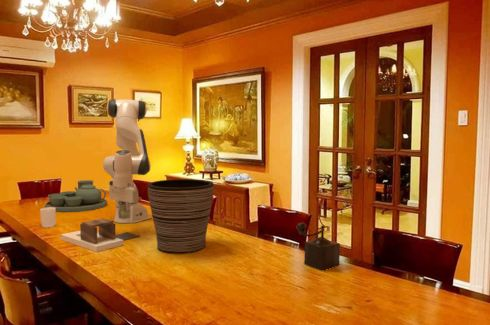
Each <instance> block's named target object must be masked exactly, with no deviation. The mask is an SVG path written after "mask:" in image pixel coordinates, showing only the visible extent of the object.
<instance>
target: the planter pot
mask: <svg viewBox="0 0 490 325" xmlns="http://www.w3.org/2000/svg"><path fill="white" fill-rule="evenodd" d="M214 187H215V183H214V182H213V181H210V180H206V179H204V180H203V179H196V178H195V179H193V178H192V179H190V178H189V179H187V178H186V179H185V178H183V179H179V178H177V179H162V180H161V179H160V180H156V181H152V182H149V183H147V194H148V202H149V206H150V211H151V216H152V220H153V225H154V230H155V237H156V244H157V246H156V247H157V250H158V251H159V252H162V253H165V254H171V255H187V254H192V253H193V254H194V253H197V252H200V251H202V250H204V249H205V248H206V247H207V246H206V245H207V244H206V242H207V240H206V239H207V231H208V225H209V220H210V215H211V210H212V204H213V198H214V191H215V190H214Z"/></svg>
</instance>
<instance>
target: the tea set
mask: <svg viewBox="0 0 490 325" xmlns="http://www.w3.org/2000/svg"><path fill="white" fill-rule="evenodd" d="M74 190H75V191H74ZM74 190H71V191H70V190H69V191H62V192H59V193H51V194H48V195H47V198H48V200H49V201H46V203H44V208H47V207H54V208H56V213H76V212H79V213H80V212H86V211H87V212H88V211H94V210H97V209H98V210H99V209H102V208H104V207H105V206H107V204H108V200H107V199H106V196H107V193H106V191H105V189H103V188H97V187H96V185H94V180H92V179H86V180H85V179H84V180H83V179H82V180H77V186H74ZM102 192H103V193H104V194H103V197H102Z"/></svg>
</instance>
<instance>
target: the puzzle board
mask: <svg viewBox="0 0 490 325" xmlns="http://www.w3.org/2000/svg"><path fill="white" fill-rule="evenodd" d="M60 239H61V241H65V242H67V243H70V244H72V245H76V246H78V247H81V248H83V249H87V250H89V251H92V252H95V253H98V252H103V251H106V250H107V251H108V250H110V249H114V248H117V247H118V248H119V247H121V246H124V241H123V240H122V239H118V238H116V239H111V238H107V237H104V236H101V235H99V231H97V242H98V243H95V244H94V243H91V242H88V241H85V240H82V239H81V233H80V230H76V231H72V232H67V233H62V234H60Z"/></svg>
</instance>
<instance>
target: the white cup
mask: <svg viewBox="0 0 490 325" xmlns="http://www.w3.org/2000/svg"><path fill="white" fill-rule="evenodd" d="M39 209H40V210H39V213H40V222H41V227H42V228H53V227H55V226H56V216H57V215H56V213H57V212H56V208H54V207H47V208H45V207H42V208H39Z"/></svg>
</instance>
